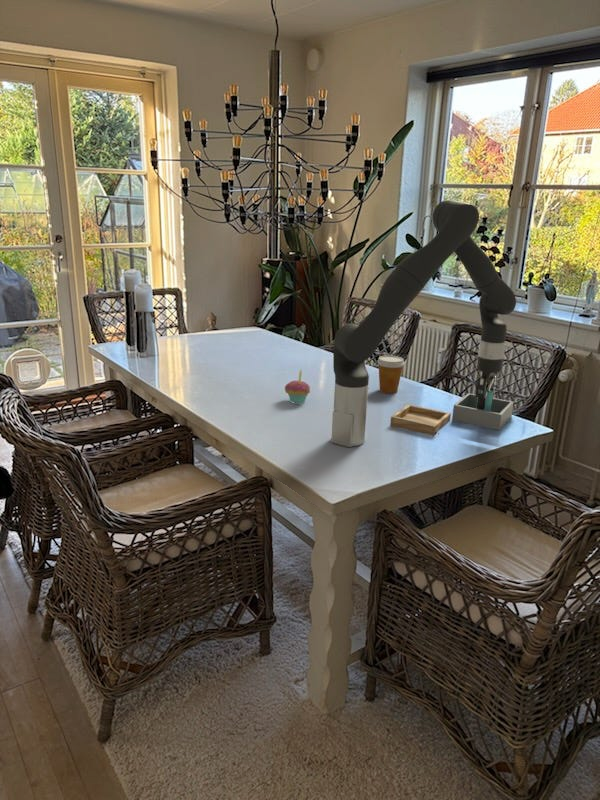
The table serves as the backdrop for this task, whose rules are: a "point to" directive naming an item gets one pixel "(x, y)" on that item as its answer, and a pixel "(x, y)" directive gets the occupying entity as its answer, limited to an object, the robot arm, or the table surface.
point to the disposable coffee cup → (390, 373)
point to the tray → (420, 419)
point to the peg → (487, 400)
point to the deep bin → (482, 412)
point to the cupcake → (297, 390)
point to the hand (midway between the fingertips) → (484, 405)
